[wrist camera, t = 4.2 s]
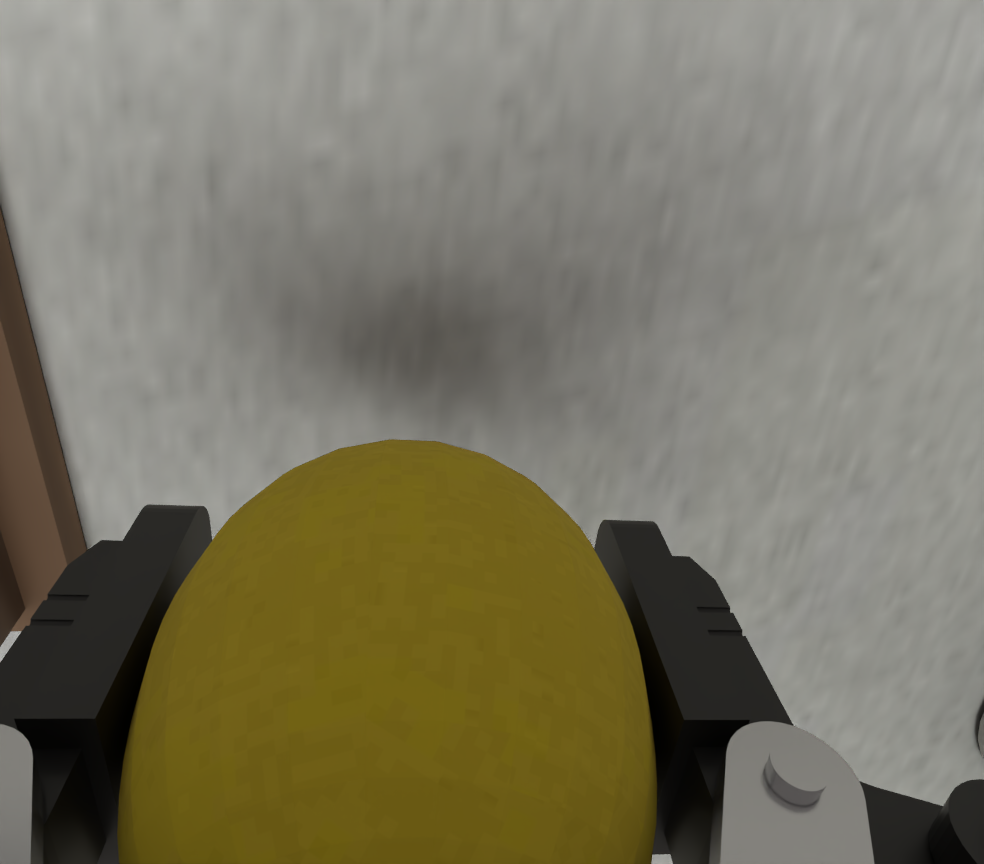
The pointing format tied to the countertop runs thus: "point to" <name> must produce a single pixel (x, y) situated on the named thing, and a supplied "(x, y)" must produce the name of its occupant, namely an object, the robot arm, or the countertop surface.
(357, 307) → the countertop surface
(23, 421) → the lemon stand
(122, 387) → the countertop surface
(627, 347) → the countertop surface
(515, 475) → the lemon
